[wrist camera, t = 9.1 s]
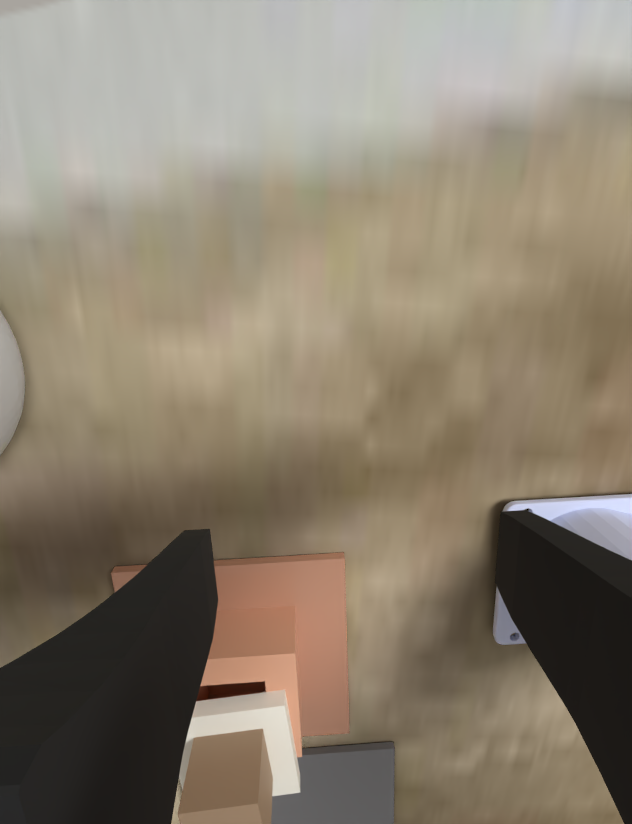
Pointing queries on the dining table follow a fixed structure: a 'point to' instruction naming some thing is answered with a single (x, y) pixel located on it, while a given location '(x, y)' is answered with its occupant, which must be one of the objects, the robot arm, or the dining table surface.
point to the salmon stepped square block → (280, 636)
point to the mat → (341, 786)
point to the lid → (237, 760)
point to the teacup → (10, 384)
